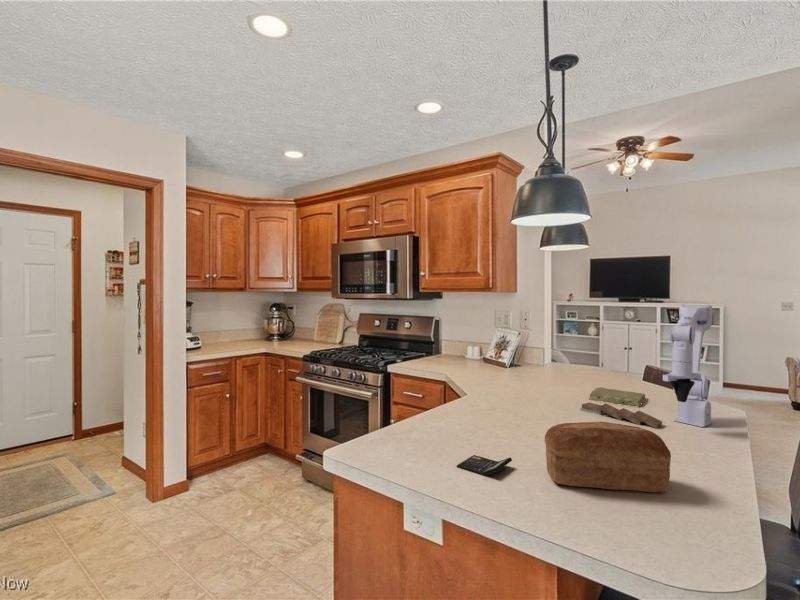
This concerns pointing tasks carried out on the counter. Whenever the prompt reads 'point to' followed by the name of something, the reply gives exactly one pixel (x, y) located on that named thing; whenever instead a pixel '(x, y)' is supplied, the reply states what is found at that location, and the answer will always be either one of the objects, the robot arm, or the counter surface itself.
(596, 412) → the domino
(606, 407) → the domino
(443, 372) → the counter surface
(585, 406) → the domino
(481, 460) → the calculator
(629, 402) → the decorative tile
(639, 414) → the domino
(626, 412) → the domino
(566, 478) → the bread
